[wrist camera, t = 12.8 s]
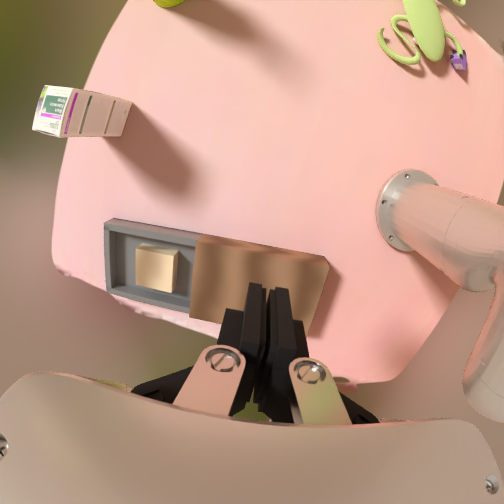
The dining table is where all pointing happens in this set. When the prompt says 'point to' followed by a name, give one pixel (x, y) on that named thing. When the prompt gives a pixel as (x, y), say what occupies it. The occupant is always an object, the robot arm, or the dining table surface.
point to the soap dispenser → (167, 2)
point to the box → (124, 261)
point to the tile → (156, 267)
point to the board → (252, 277)
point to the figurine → (425, 33)
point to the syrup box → (80, 113)
